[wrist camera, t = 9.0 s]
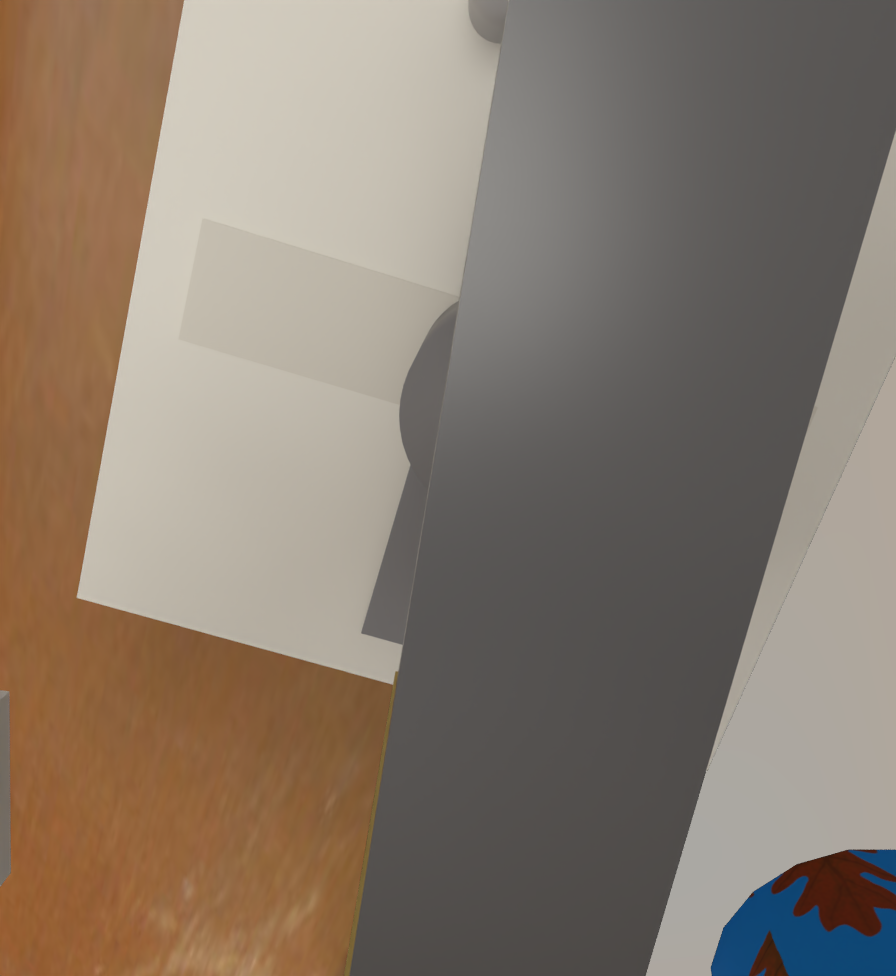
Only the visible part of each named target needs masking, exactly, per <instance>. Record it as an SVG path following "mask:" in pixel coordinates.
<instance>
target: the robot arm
mask: <svg viewBox="0 0 896 976" xmlns="http://www.w3.org/2000/svg"><path fill="white" fill-rule="evenodd" d="M10 873H11V845H10V719H9V692H8V691H2V690H0V886H1V885H2V884H3V882H4V881H5V880H6V878H7V877H8V876H9V874H10Z"/></svg>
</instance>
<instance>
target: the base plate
mask: <svg viewBox="0 0 896 976" xmlns="http://www.w3.org/2000/svg"><path fill="white" fill-rule="evenodd" d="M507 4H508V0H184V5H183V11H182V16H181V22H180V27H179V33H178V39H177V44H176V50H175V55H174V61H173V66H172V72H171V77H170V83H169V89H168V94H167V100H166V105H165V111H164V116H163V122H162V127H161V133H160V139H159V144H158V150H157V155H156V161H155V166H154V172H153V177H152V183H151V189H150V194H149V200H148V205H147V211H146V216H145V222H144V227H143V233H142V239H141V244H140V250H139V255H138V261H137V266H136V272H135V277H134V283H133V289H132V294H131V300H130V305H129V311H128V316H127V322H126V327H125V333H124V339H123V344H122V350H121V355H120V361H119V366H118V372H117V377H116V383H115V389H114V394H113V400H112V405H111V411H110V416H109V422H108V427H107V433H106V439H105V444H104V450H103V455H102V461H101V466H100V472H99V477H98V483H97V489H96V494H95V500H94V505H93V511H92V516H91V522H90V527H89V533H88V539H87V544H86V550H85V555H84V561H83V566H82V572H81V577H80V583H79V589H78V594H77V598H80V599H83V600H87V601H90V602H94V603H98V604H101V605H105V606H109V607H112V608H116V609H120V610H123V611H127V612H130V613H134V614H138V615H141V616H145V617H149V618H152V619H156V620H160V621H163V622H167V623H170V624H174V625H178V626H181V627H185V628H189V629H192V630H196V631H200V632H203V633H207V634H211V635H214V636H218V637H221V638H225V639H229V640H232V641H236V642H240V643H243V644H247V645H251V646H254V647H258V648H261V649H265V650H269V651H272V652H276V653H280V654H283V655H287V656H291V657H294V658H298V659H301V660H305V661H309V662H312V663H316V664H320V665H323V666H327V667H331V668H334V669H338V670H341V671H345V672H349V673H352V674H356V675H360V676H363V677H367V678H371V679H374V680H378V681H382V682H385V683H389V684H392V685H393V682H394V676H395V671H397V672H398V670H399V664H400V658H401V652H402V646H403V640H404V634H405V627H406V621H407V615H408V609H409V603H410V597H411V591H412V585H413V579H414V572H415V566H416V560H417V554H418V548H419V542H420V536H421V530H422V524H423V517H424V511H425V505H426V499H427V493H428V487H429V481H430V475H431V469H432V462H433V456H434V450H435V444H436V438H437V432H438V426H439V420H440V413H441V407H442V401H443V395H444V389H445V383H446V377H447V371H448V365H449V358H450V352H451V346H452V340H453V334H454V328H455V322H456V316H457V310H458V303H459V297H460V291H461V285H462V279H463V273H464V267H465V261H466V255H467V248H468V242H469V236H470V230H471V224H472V218H473V212H474V206H475V199H476V193H477V187H478V181H479V175H480V169H481V163H482V157H483V151H484V144H485V138H486V132H487V126H488V120H489V114H490V108H491V102H492V96H493V89H494V83H495V77H496V71H497V65H498V59H499V53H500V47H501V41H502V34H503V28H504V22H505V16H506V10H507ZM895 356H896V131H895V135H894V138H893V142H892V145H891V148H890V152H889V155H888V158H887V162H886V165H885V169H884V172H883V175H882V179H881V182H880V185H879V189H878V192H877V196H876V199H875V202H874V206H873V209H872V212H871V216H870V219H869V223H868V226H867V229H866V233H865V236H864V239H863V243H862V246H861V250H860V253H859V256H858V260H857V263H856V266H855V270H854V273H853V277H852V280H851V283H850V287H849V290H848V293H847V297H846V300H845V304H844V307H843V310H842V314H841V317H840V320H839V324H838V327H837V331H836V334H835V337H834V341H833V344H832V348H831V351H830V354H829V358H828V361H827V364H826V368H825V371H824V375H823V378H822V381H821V385H820V388H819V391H818V395H817V398H816V402H815V405H814V408H813V412H812V415H811V418H810V422H809V425H808V429H807V432H806V435H805V439H804V442H803V445H802V449H801V452H800V456H799V459H798V462H797V466H796V469H795V472H794V476H793V479H792V483H791V486H790V489H789V493H788V496H787V499H786V503H785V506H784V510H783V513H782V516H781V520H780V523H779V526H778V530H777V533H776V537H775V540H774V543H773V547H772V550H771V554H770V557H769V560H768V564H767V567H766V570H765V574H764V577H763V581H762V584H761V587H760V591H759V594H758V597H757V601H756V604H755V608H754V611H753V614H752V618H751V621H750V624H749V628H748V631H747V635H746V638H745V641H744V645H743V648H742V651H741V655H740V658H739V662H738V665H737V668H736V672H735V675H734V678H733V682H732V685H731V689H730V692H729V695H728V699H727V702H726V705H725V709H724V712H723V716H722V719H721V722H720V726H719V729H718V732H717V736H716V739H715V743H714V746H713V749H712V753H711V756H710V759H709V763H708V766H707V770H708V769H709V766H710V764H711V762H712V760H713V757H714V755H715V753H716V751H717V749H718V746H719V744H720V742H721V740H722V738H723V735H724V733H725V731H726V729H727V727H728V724H729V722H730V720H731V718H732V716H733V713H734V711H735V709H736V707H737V705H738V702H739V700H740V698H741V696H742V693H743V691H744V689H745V687H746V684H747V682H748V680H749V678H750V676H751V674H752V672H753V669H754V667H755V665H756V663H757V661H758V658H759V656H760V654H761V652H762V649H763V647H764V645H765V643H766V641H767V639H768V636H769V634H770V632H771V630H772V627H773V625H774V623H775V621H776V619H777V616H778V614H779V612H780V610H781V608H782V605H783V603H784V601H785V599H786V597H787V594H788V592H789V590H790V588H791V586H792V583H793V581H794V579H795V577H796V574H797V572H798V570H799V568H800V566H801V563H802V561H803V559H804V557H805V555H806V553H807V550H808V548H809V546H810V544H811V542H812V539H813V537H814V535H815V533H816V531H817V528H818V526H819V524H820V522H821V519H822V517H823V515H824V513H825V511H826V508H827V506H828V504H829V502H830V500H831V497H832V495H833V493H834V491H835V489H836V486H837V484H838V482H839V480H840V478H841V475H842V473H843V471H844V469H845V466H846V464H847V462H848V460H849V458H850V456H851V453H852V451H853V449H854V447H855V445H856V442H857V440H858V438H859V436H860V433H861V431H862V429H863V427H864V425H865V422H866V420H867V418H868V416H869V414H870V411H871V409H872V407H873V405H874V403H875V400H876V398H877V396H878V394H879V391H880V389H881V387H882V385H883V383H884V381H885V378H886V376H887V374H888V372H889V370H890V367H891V365H892V363H893V361H894V359H895ZM707 770H706V771H707Z"/></svg>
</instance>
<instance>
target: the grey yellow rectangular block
mask: <svg viewBox="0 0 896 976" xmlns="http://www.w3.org/2000/svg"><path fill="white" fill-rule="evenodd" d="M895 131H896V0H508V4H507V10H506V16H505V22H504V28H503V34H502V41H501V47H500V53H499V59H498V65H497V71H496V77H495V83H494V89H493V96H492V102H491V108H490V114H489V120H488V126H487V132H486V138H485V144H484V151H483V157H482V163H481V169H480V175H479V181H478V187H477V193H476V199H475V206H474V212H473V218H472V224H471V230H470V236H469V242H468V248H467V255H466V261H465V267H464V273H463V279H462V285H461V291H460V297H459V303H458V310H457V316H456V322H455V328H454V334H453V340H452V346H451V352H450V358H449V365H448V371H447V377H446V383H445V389H444V395H443V401H442V407H441V413H440V420H439V426H438V432H437V438H436V444H435V450H434V456H433V462H432V469H431V475H430V481H429V487H428V493H427V499H426V505H425V511H424V517H423V524H422V530H421V536H420V542H419V548H418V554H417V560H416V566H415V572H414V579H413V585H412V591H411V597H410V603H409V609H408V615H407V621H406V627H405V634H404V640H403V646H402V652H401V658H400V664H399V670H398V672H397V671H395V676H394V682H393V688H392V694H391V700H390V706H389V712H388V718H387V724H386V730H385V736H384V742H383V748H382V754H381V760H380V766H379V771H378V777H377V783H376V789H375V795H374V801H373V807H372V813H371V819H370V825H369V831H368V837H367V843H366V849H365V855H364V861H363V867H362V873H361V878H360V884H359V890H358V896H357V902H356V908H355V914H354V920H353V926H352V932H351V938H350V944H349V950H348V956H347V962H346V968H345V974H344V976H646V972H647V969H648V965H649V962H650V958H651V955H652V952H653V948H654V945H655V942H656V938H657V935H658V932H659V928H660V925H661V922H662V918H663V915H664V911H665V908H666V905H667V901H668V898H669V895H670V891H671V888H672V884H673V881H674V878H675V874H676V871H677V868H678V864H679V861H680V857H681V854H682V850H683V847H684V844H685V841H686V837H687V834H688V830H689V827H690V824H691V820H692V817H693V813H694V810H695V807H696V803H697V800H698V797H699V793H700V790H701V786H702V783H703V780H704V776H705V773H706V770H707V766H708V763H709V759H710V756H711V753H712V749H713V746H714V743H715V739H716V736H717V732H718V729H719V726H720V722H721V719H722V716H723V712H724V709H725V705H726V702H727V699H728V695H729V692H730V689H731V685H732V682H733V678H734V675H735V672H736V668H737V665H738V662H739V658H740V655H741V651H742V648H743V645H744V641H745V638H746V635H747V631H748V628H749V624H750V621H751V618H752V614H753V611H754V608H755V604H756V601H757V597H758V594H759V591H760V587H761V584H762V581H763V577H764V574H765V570H766V567H767V564H768V560H769V557H770V554H771V550H772V547H773V543H774V540H775V537H776V533H777V530H778V526H779V523H780V520H781V516H782V513H783V510H784V506H785V503H786V499H787V496H788V493H789V489H790V486H791V483H792V479H793V476H794V472H795V469H796V466H797V462H798V459H799V456H800V452H801V449H802V445H803V442H804V439H805V435H806V432H807V429H808V425H809V422H810V418H811V415H812V412H813V408H814V405H815V402H816V398H817V395H818V391H819V388H820V385H821V381H822V378H823V375H824V371H825V368H826V364H827V361H828V358H829V354H830V351H831V348H832V344H833V341H834V337H835V334H836V331H837V327H838V324H839V320H840V317H841V314H842V310H843V307H844V304H845V300H846V297H847V293H848V290H849V287H850V283H851V280H852V277H853V273H854V270H855V266H856V263H857V260H858V256H859V253H860V250H861V246H862V243H863V239H864V236H865V233H866V229H867V226H868V223H869V219H870V216H871V212H872V209H873V206H874V202H875V199H876V196H877V192H878V189H879V185H880V182H881V179H882V175H883V172H884V169H885V165H886V162H887V158H888V155H889V152H890V148H891V145H892V142H893V138H894V135H895Z"/></svg>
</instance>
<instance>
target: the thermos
mask: <svg viewBox="0 0 896 976" xmlns="http://www.w3.org/2000/svg"><path fill="white" fill-rule="evenodd" d="M711 972H712V976H896V850H845V851H842V852H839V853H835V854H832V855H828V856H825V857H821V858H817V859H814V860H811V861H807V862H804V863H800V864H797V865H795V866H793V867H792V868H790V869H789V870H787V871H786V872H784V873H783V874H781V875H779V876H778V877H776V878H774V879H773V880H771V881H770V882H768V883H766V884H765V885H763V886H762V887H760V888H759V889H757V890H755V891H754V892H753V893H752V894H751V895H750V896H749V898H748V899H747V900H746V901H745V902H744V904H743V905H742V906H741V907H740V908H739V910H738V911H737V912H736V913H735V915H734V916H733V917H732V918H731V920H730V921H729V922H728V923H727V924H726V925H725V927H724V928H723V931H722V934H721V937H720V940H719V943H718V947H717V950H716V953H715V956H714V959H713V962H712V966H711Z"/></svg>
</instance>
